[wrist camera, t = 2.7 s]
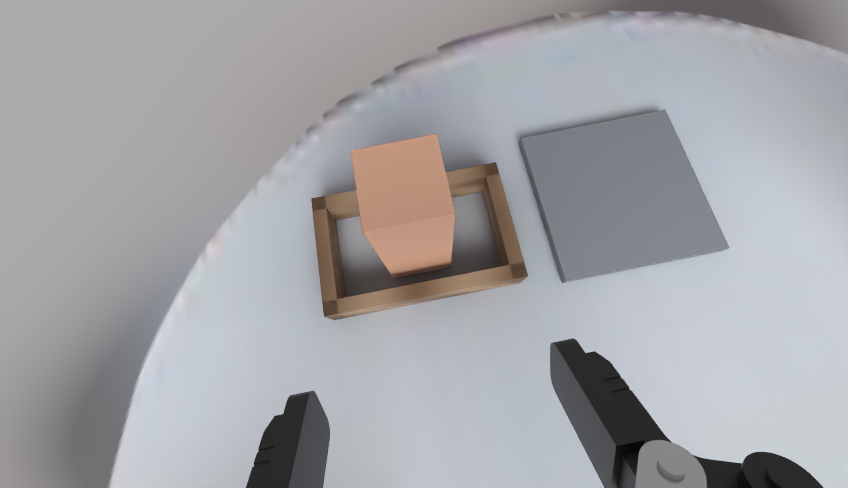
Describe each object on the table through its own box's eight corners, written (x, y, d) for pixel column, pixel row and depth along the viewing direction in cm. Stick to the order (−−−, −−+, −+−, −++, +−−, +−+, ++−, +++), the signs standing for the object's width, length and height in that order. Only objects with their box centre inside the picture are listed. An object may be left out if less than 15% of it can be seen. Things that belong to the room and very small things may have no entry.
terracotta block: (438, 214, 28) (436, 133, 18) (450, 267, 27) (455, 213, 17) (384, 224, 28) (350, 150, 18) (393, 278, 27) (362, 232, 17)
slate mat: (659, 115, 30) (665, 109, 29) (721, 251, 26) (729, 248, 26) (519, 143, 30) (521, 137, 29) (562, 282, 26) (565, 280, 26)
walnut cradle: (491, 177, 29) (495, 162, 27) (520, 282, 27) (528, 275, 24) (322, 211, 29) (311, 198, 27) (334, 319, 26) (323, 316, 24)
